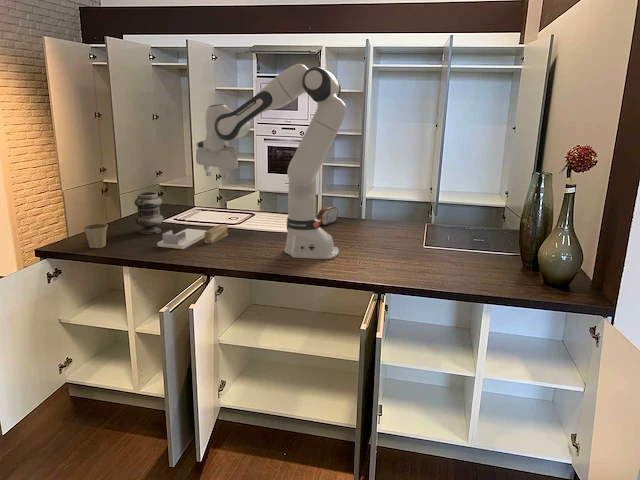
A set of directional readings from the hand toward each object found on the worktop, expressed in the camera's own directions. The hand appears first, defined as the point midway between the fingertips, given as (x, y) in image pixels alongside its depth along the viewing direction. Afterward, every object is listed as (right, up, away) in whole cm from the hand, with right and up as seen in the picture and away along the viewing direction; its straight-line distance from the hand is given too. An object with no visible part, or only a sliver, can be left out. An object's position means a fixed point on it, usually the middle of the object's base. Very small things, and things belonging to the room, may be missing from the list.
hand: (217, 177), depth 205 cm
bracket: (-15, -27, +6) cm, 31 cm away
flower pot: (-49, -30, -5) cm, 57 cm away
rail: (-2, -26, +9) cm, 28 cm away
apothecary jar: (-35, -23, +18) cm, 45 cm away
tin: (+48, -18, +39) cm, 64 cm away
